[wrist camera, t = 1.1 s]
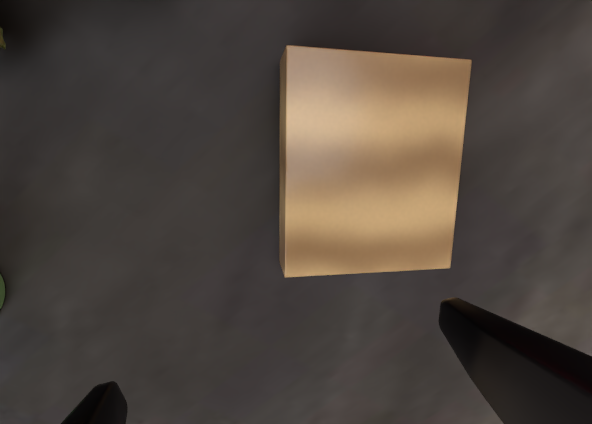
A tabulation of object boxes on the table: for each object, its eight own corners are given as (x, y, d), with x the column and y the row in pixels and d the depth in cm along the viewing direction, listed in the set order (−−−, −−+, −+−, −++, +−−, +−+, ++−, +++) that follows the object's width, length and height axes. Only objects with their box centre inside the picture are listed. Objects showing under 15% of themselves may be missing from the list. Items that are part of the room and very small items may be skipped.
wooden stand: (425, 255, 24) (450, 268, 22) (279, 262, 22) (284, 277, 19) (441, 72, 22) (472, 59, 19) (279, 61, 20) (286, 44, 17)
